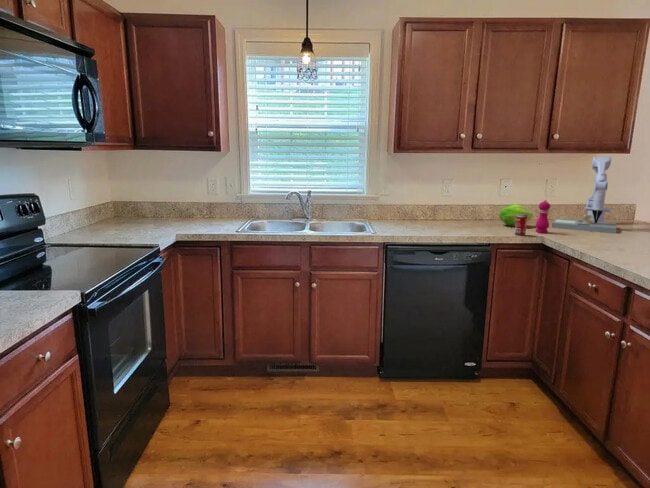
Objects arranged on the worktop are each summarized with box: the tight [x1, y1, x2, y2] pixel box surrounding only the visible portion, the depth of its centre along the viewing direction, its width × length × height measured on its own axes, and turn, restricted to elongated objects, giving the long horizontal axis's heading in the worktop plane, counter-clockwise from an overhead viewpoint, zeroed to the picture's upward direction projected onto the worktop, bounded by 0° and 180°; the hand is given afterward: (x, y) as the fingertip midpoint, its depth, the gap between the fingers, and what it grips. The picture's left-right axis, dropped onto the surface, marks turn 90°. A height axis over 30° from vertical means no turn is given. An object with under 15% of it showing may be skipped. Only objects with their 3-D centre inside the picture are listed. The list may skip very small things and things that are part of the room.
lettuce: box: [498, 203, 534, 227], centre depth 275 cm, size 15×20×14 cm
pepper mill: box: [535, 199, 551, 234], centre depth 253 cm, size 7×7×20 cm
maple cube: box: [582, 214, 593, 224], centre depth 269 cm, size 5×5×5 cm
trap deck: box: [551, 217, 618, 234], centre depth 271 cm, size 34×22×3 cm, turn 56°
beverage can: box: [514, 214, 528, 237], centre depth 246 cm, size 6×6×12 cm
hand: (595, 222), depth 267 cm, fingers closed
